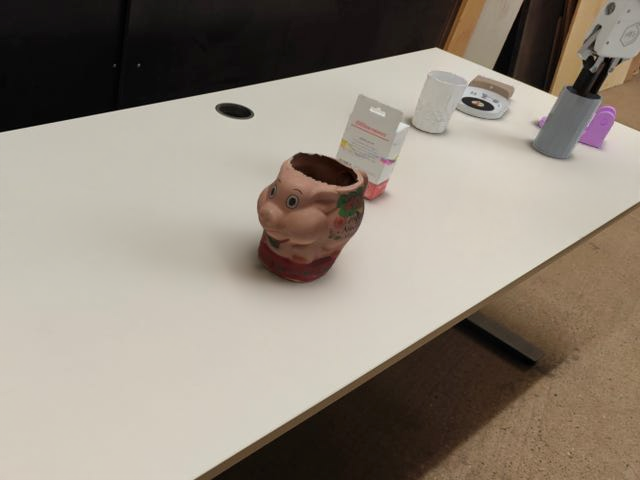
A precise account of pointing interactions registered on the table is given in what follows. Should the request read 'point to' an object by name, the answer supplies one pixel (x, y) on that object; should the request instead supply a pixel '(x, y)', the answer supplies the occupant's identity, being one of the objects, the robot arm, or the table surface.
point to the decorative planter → (309, 215)
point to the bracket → (596, 126)
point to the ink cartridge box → (373, 142)
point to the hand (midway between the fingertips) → (584, 90)
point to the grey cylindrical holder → (566, 123)
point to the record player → (486, 98)
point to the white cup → (438, 100)
